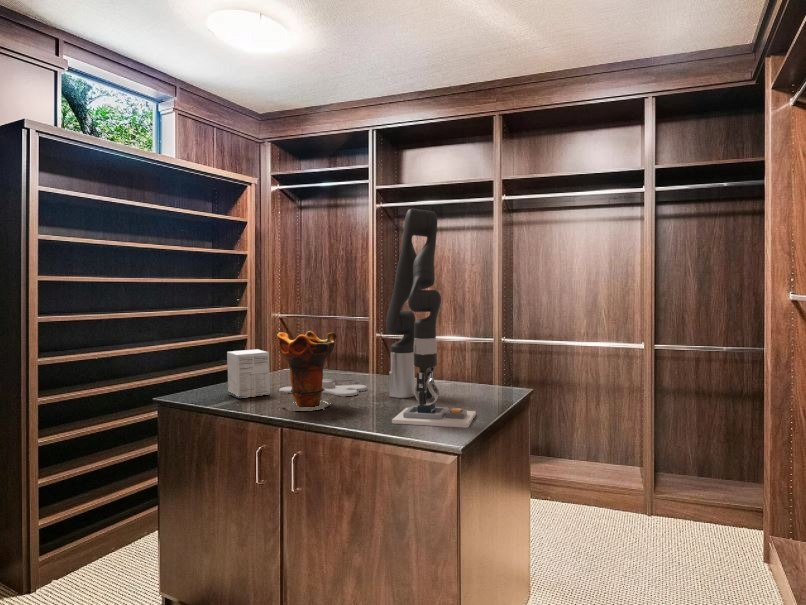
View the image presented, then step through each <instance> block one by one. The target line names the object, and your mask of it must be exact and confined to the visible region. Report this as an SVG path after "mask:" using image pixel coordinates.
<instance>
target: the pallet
mask: <svg viewBox="0 0 806 605" xmlns="http://www.w3.org/2000/svg"><path fill="white" fill-rule="evenodd" d="M418 406H419V405H411V406H410V407H405V408H404V409H403V410H402V411H400V412H399V413H398V414H397V415H396V416H395V417H393V418H392V419H391V424H393V425H394V424H398V425H410V426H411V425H412V426H413V425H414V426H415V425H416V426H432V427H445V428H446V427H449V428H453V427H454V428H465V429H468V428H469V426H470V425H471V423H472V422H473V421H474V419H473V418H475V417H476V414H477V410H467V409H462V413H451V409H452V408H448V407H443V406H442V407H441V406H435V414H432V413H418Z"/></svg>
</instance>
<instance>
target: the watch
mask: <svg viewBox="0 0 806 605" xmlns="http://www.w3.org/2000/svg"><path fill="white" fill-rule="evenodd" d="M428 389H429V391H430V393H431V394H432V397H433V398H434V400H433V402H426V404H425V405H423V404H419V405H417V406H418V413H432V414H435V407H436V402H437V401H438V399H439V395H440V391H439V388H438V386H437V385H436V383H435V381H434V382H432V381H429V386H428ZM414 394H415V396H414V397H415V399H416V401H417V402H418V403H419V392H417V384H415V389H414Z"/></svg>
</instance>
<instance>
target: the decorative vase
mask: <svg viewBox="0 0 806 605" xmlns="http://www.w3.org/2000/svg"><path fill="white" fill-rule="evenodd" d="M276 337H277V339H278V349H279V352H280V354H281V355H282V357H283V358H284V359H285V360H286V361H287V362H288V369H289V379H290V386H291V387H292V389H291V392H292V393H293V394H291V397H292V399H293V400H294V402H295V403H296V405H297V406H299V407H315V406H319V405H320V402H321V401H323V402H325V403H327V404H329V403H328V401H325V400H322V399H321V398H322V395H323V394H322V391H325V390H324V389H323V388H322V380H323V379H324V366H325V361H326V360H327V359H328V357H329V356H330V355H332V354H333V351H334V349H335V345H336V343H335V340H336V339H337V334H336V332H335V333H334V332H329V333H327V338H326V339H320V338H319V337H318V336H317V334H316V333H315V332H314V331H312V330H309V331H306V332H305V334H299V335H297V337H295V339H290V338H289V334H288V333H286V332H278V333H277V335H276ZM326 396H327V398H329V397H328V395H326ZM330 406H331V405H328V406H326V407H324V408H326V409H327V408H328V407H330Z"/></svg>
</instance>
